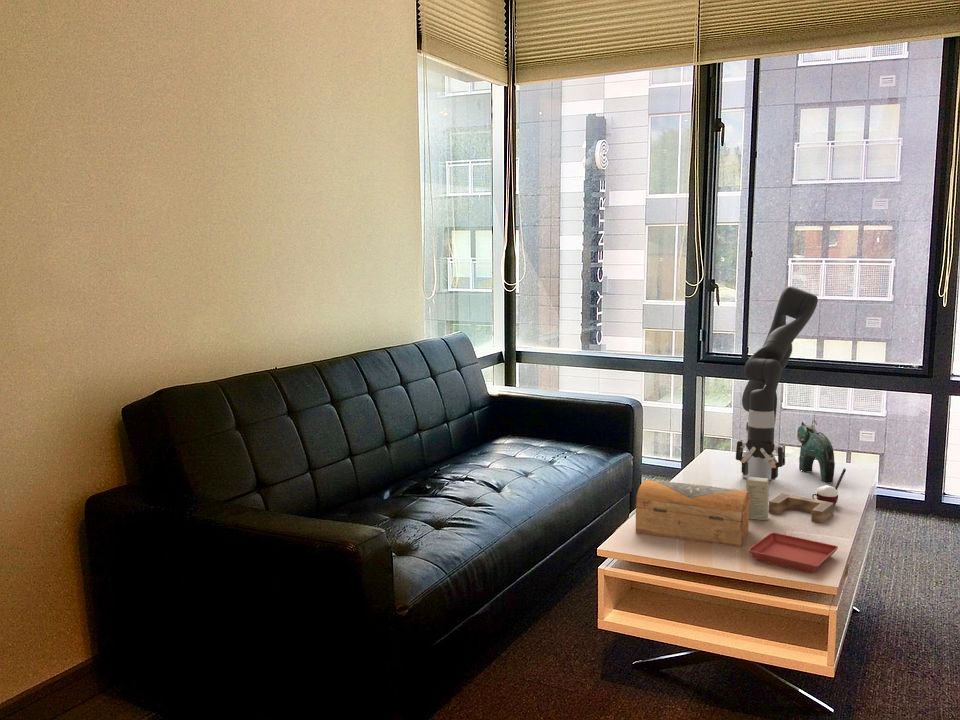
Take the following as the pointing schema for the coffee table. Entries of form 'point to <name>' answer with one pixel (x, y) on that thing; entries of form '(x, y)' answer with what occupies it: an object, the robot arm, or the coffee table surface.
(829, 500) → the cocoa
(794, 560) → the plant saucer
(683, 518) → the wooden box
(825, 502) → the wooden u-shaped block
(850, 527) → the coffee table surface
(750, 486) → the skincare box
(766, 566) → the coffee table surface
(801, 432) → the ceramic cat
